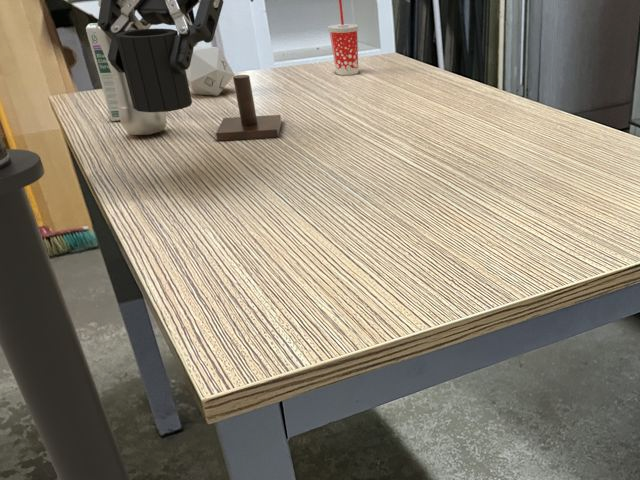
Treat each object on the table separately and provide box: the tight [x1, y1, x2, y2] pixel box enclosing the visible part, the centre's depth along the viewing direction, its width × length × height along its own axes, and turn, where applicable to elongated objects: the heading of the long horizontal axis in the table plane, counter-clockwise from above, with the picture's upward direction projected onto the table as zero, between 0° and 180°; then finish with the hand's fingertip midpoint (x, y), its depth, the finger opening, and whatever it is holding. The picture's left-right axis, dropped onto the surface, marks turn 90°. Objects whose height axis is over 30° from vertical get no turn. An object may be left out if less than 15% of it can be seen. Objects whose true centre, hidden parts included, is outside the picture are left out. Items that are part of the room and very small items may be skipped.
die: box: [186, 45, 235, 97], centre depth 132 cm, size 8×9×10 cm
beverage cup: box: [327, 0, 359, 76], centre depth 144 cm, size 6×6×14 cm
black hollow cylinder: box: [115, 27, 193, 113], centre depth 82 cm, size 6×6×8 cm
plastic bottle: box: [96, 0, 167, 136], centre depth 105 cm, size 6×7×20 cm
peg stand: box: [216, 74, 282, 142], centre depth 109 cm, size 9×9×8 cm
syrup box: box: [85, 22, 120, 122], centre depth 116 cm, size 6×6×14 cm
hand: (147, 69), depth 80 cm, fingers closed on black hollow cylinder, 6 cm apart
